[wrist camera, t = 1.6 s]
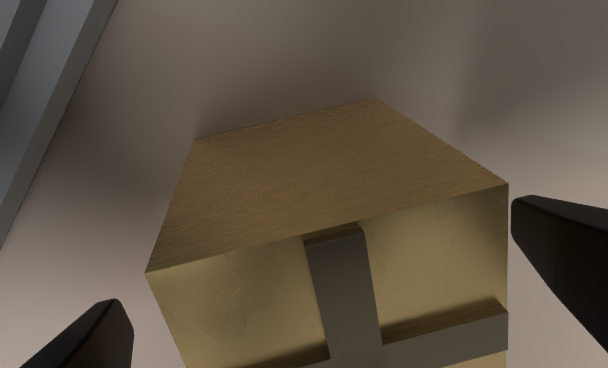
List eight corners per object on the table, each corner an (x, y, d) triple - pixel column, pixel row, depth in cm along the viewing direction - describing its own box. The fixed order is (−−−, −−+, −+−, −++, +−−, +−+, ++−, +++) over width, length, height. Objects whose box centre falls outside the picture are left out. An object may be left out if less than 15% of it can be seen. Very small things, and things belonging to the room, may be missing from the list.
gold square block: (394, 248, 13) (511, 431, 7) (242, 287, 13) (243, 506, 7) (375, 97, 11) (516, 189, 5) (193, 139, 11) (141, 283, 5)
